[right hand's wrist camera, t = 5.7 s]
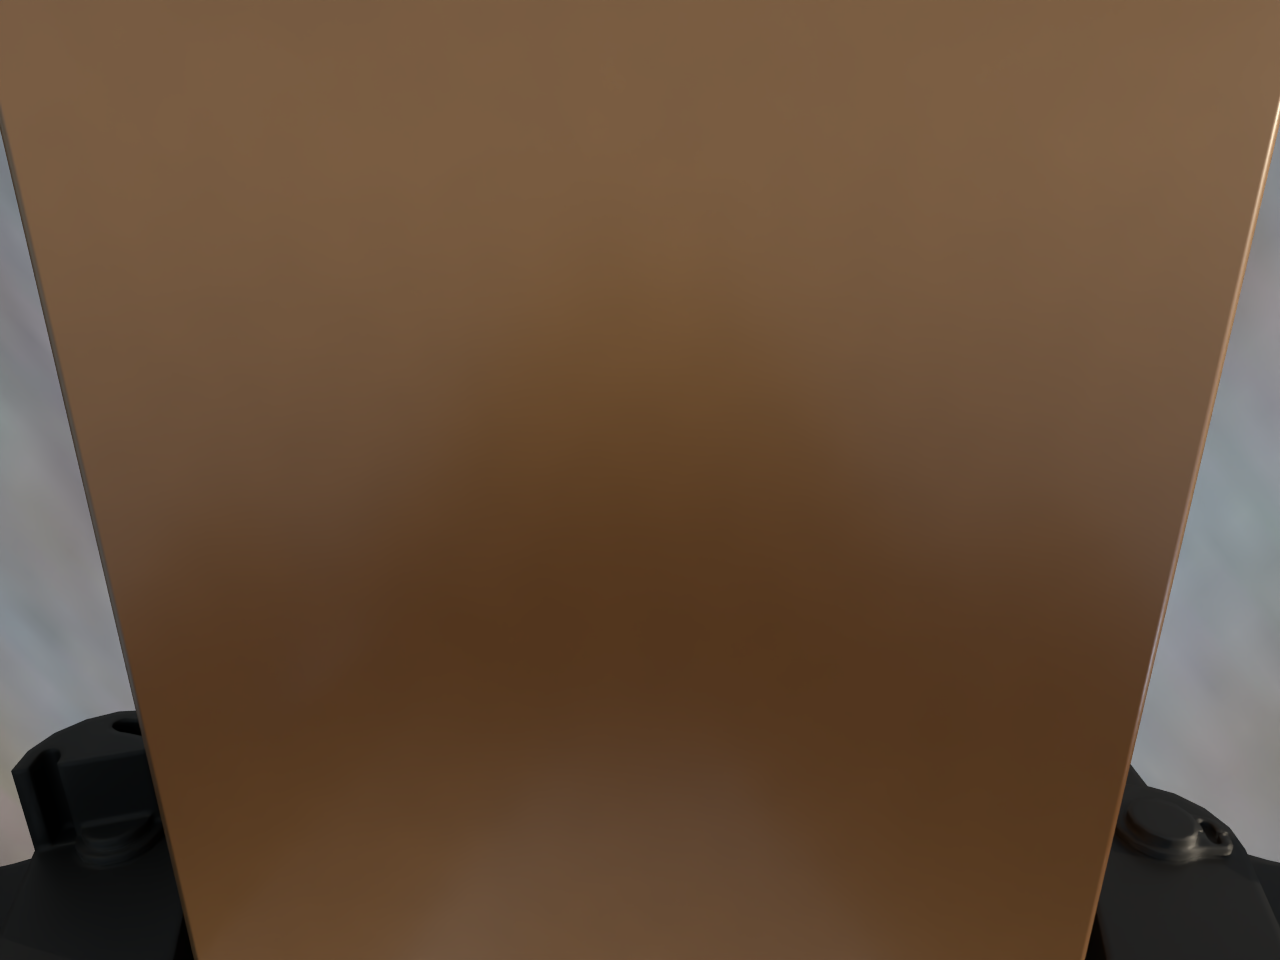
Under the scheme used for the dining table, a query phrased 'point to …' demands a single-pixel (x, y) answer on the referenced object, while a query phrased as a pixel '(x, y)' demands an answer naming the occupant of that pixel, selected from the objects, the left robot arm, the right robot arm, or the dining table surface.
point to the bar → (639, 449)
